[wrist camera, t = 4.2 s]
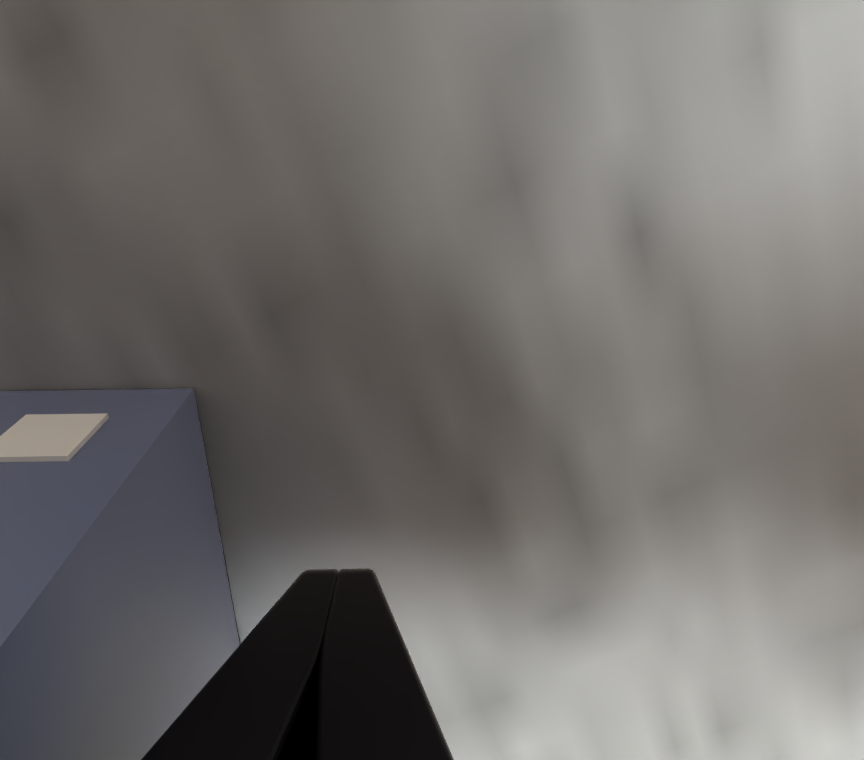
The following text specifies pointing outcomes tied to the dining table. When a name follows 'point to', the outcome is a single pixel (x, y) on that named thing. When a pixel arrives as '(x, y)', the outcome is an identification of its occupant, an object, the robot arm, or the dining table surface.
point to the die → (105, 571)
